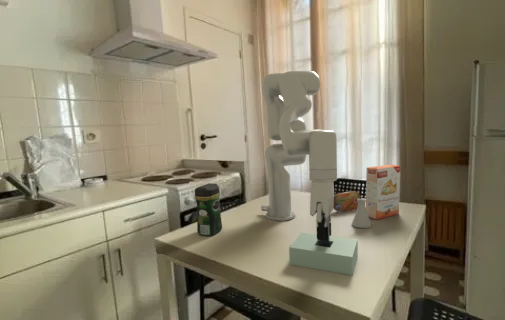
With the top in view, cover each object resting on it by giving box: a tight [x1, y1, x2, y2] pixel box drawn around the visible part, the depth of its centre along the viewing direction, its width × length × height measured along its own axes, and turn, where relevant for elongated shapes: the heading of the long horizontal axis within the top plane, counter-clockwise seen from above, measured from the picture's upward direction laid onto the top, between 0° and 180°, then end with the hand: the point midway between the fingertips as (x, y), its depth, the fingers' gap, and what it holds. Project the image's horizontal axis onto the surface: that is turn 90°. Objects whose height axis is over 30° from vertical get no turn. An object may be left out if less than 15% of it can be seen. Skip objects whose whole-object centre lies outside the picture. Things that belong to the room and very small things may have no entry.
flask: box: [351, 198, 372, 229], centre depth 108 cm, size 7×7×10 cm
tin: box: [333, 190, 362, 214], centre depth 128 cm, size 15×3×8 cm, turn 114°
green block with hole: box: [288, 232, 359, 276], centre depth 82 cm, size 17×12×5 cm
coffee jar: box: [194, 182, 223, 237], centre depth 108 cm, size 10×8×19 cm
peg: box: [319, 214, 330, 247], centre depth 81 cm, size 3×3×10 cm
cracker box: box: [365, 164, 401, 221], centre depth 118 cm, size 14×6×21 cm, turn 117°
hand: (324, 237), depth 82 cm, fingers closed on peg, 3 cm apart
